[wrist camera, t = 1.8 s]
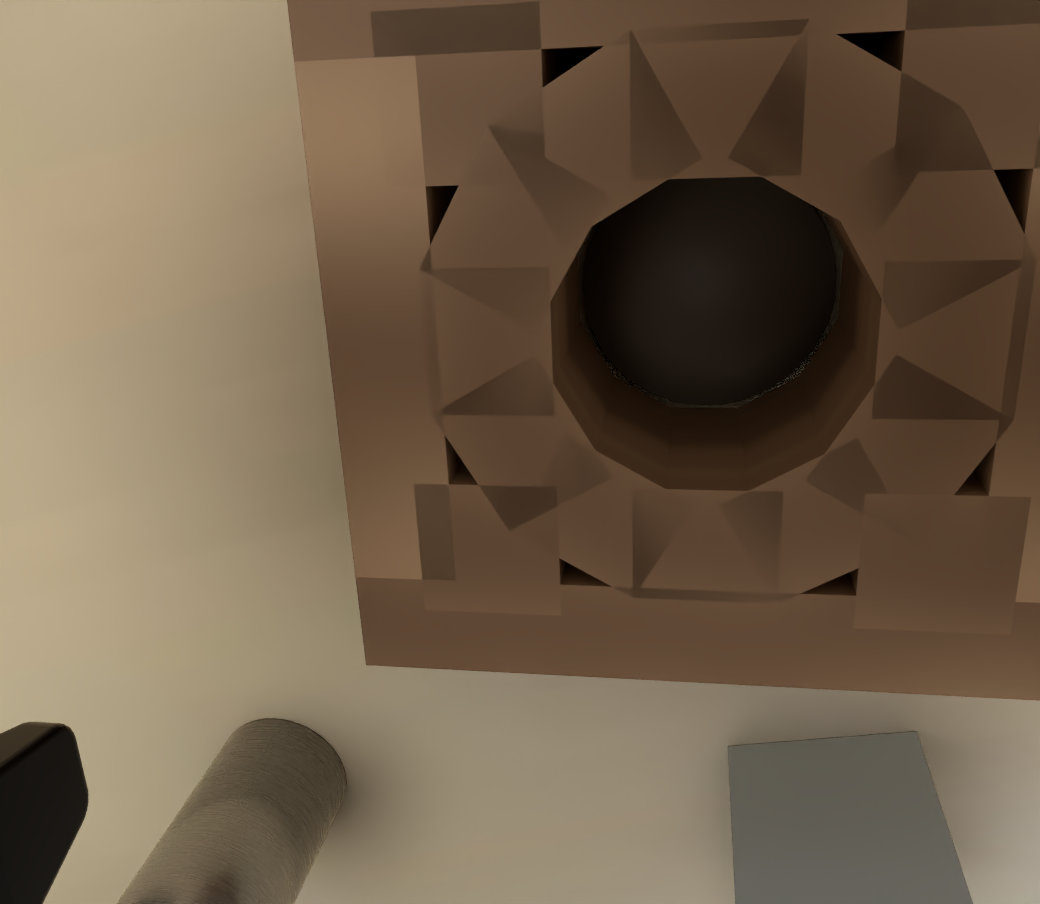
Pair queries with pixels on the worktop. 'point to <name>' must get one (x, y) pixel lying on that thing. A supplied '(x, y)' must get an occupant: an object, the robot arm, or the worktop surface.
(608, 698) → the worktop surface
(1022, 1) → the bore block
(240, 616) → the worktop surface
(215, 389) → the worktop surface
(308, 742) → the cylinder
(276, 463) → the worktop surface
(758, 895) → the gray rectangular block
